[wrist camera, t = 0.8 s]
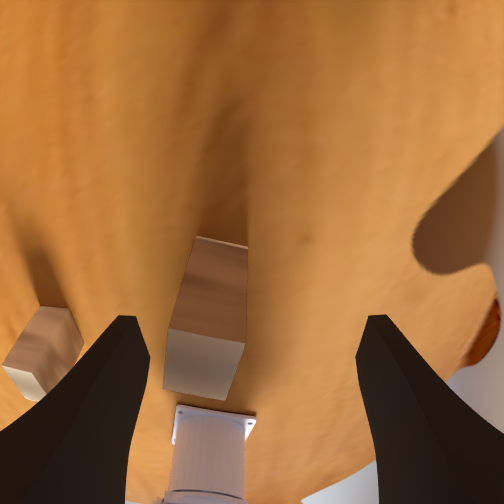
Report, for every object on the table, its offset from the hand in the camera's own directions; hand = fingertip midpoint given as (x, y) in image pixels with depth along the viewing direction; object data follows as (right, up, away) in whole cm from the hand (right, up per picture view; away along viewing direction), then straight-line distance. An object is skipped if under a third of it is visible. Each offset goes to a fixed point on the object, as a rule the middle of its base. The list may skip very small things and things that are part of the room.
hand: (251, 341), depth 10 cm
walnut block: (-2, +2, +11) cm, 11 cm away
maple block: (-16, -3, +14) cm, 22 cm away
